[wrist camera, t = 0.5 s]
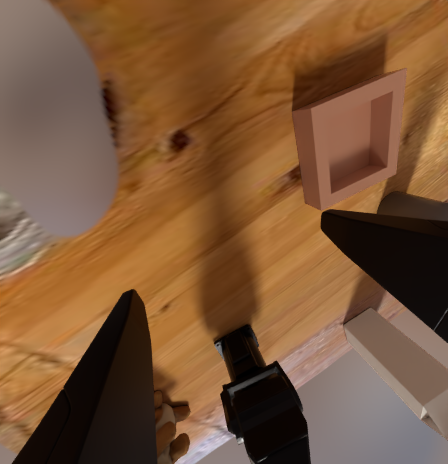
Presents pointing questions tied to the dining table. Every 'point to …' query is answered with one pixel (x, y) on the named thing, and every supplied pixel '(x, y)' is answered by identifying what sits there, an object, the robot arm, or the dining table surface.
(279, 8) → the dining table surface
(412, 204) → the pepper mill
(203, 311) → the dining table surface
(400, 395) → the milk carton
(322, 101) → the terracotta holder
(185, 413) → the stuffed squirrel
